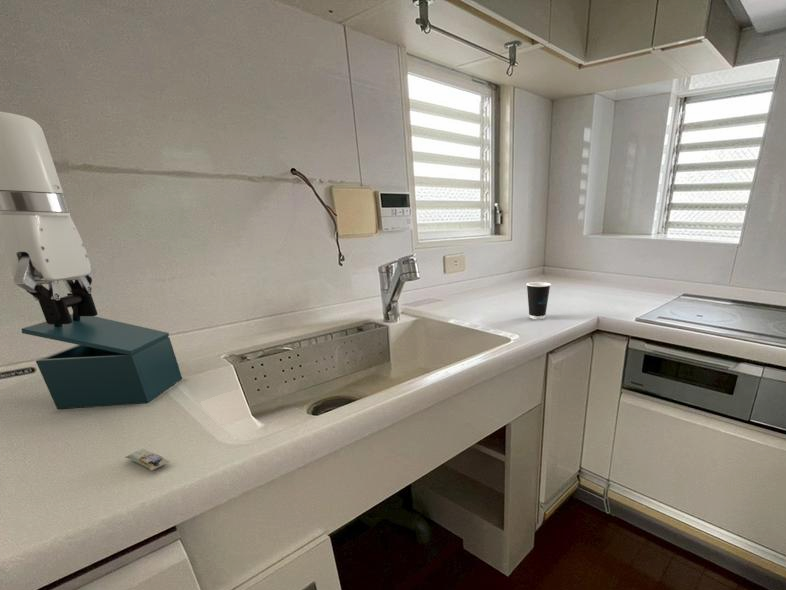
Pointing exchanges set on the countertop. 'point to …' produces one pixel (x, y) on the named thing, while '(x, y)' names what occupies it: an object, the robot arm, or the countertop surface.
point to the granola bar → (147, 459)
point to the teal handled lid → (97, 331)
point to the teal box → (109, 375)
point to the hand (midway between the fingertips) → (73, 318)
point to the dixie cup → (537, 299)
